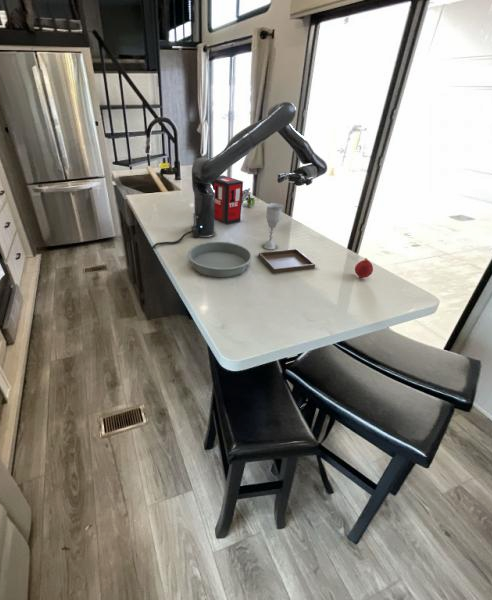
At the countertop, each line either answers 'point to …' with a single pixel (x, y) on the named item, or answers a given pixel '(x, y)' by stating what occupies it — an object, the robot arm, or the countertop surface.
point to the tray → (286, 260)
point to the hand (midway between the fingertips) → (288, 181)
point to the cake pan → (219, 258)
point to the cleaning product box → (228, 199)
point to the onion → (364, 268)
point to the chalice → (272, 221)
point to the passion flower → (245, 197)
